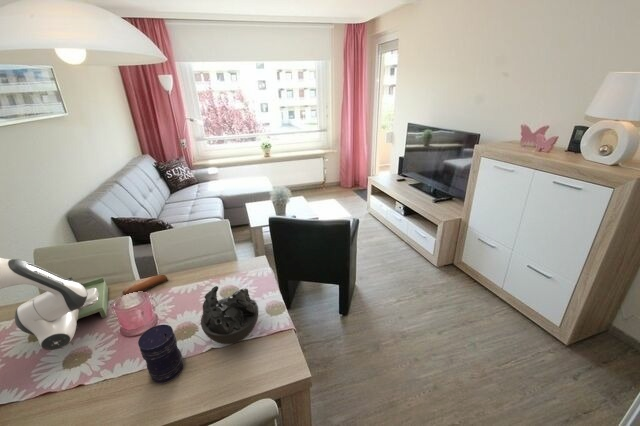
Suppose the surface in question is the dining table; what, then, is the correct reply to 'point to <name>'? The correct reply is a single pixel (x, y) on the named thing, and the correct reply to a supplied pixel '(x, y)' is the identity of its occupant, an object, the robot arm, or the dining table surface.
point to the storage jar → (161, 353)
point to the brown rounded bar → (145, 284)
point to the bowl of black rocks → (229, 316)
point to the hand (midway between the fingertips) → (68, 293)
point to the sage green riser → (102, 298)
